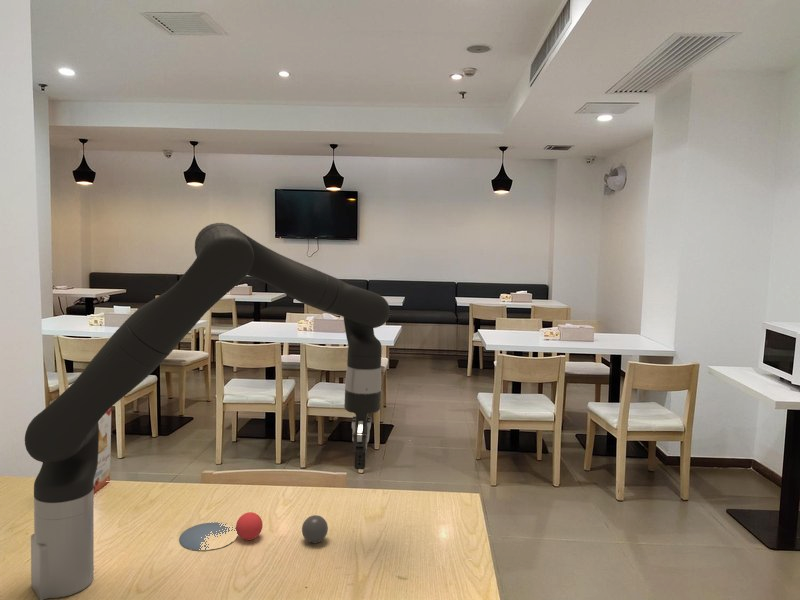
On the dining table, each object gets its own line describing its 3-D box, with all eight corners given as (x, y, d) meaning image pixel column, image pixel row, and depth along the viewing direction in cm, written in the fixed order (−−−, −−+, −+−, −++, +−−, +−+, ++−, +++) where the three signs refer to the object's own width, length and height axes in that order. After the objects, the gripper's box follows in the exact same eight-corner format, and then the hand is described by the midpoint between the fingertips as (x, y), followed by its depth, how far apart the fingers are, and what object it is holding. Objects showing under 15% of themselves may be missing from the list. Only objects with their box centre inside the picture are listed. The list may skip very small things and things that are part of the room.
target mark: (195, 557, 116) (195, 556, 116) (169, 534, 124) (169, 533, 124) (248, 538, 125) (248, 537, 125) (221, 518, 133) (221, 517, 133)
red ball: (244, 547, 121) (244, 522, 120) (230, 537, 125) (231, 512, 124) (267, 539, 125) (267, 514, 124) (253, 529, 128) (254, 505, 128)
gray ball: (311, 550, 121) (312, 525, 120) (296, 540, 125) (297, 515, 124) (332, 542, 125) (333, 517, 124) (317, 532, 129) (317, 508, 128)
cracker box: (81, 506, 136) (81, 418, 134) (55, 504, 136) (55, 416, 134) (112, 481, 150) (112, 402, 148) (89, 480, 150) (89, 400, 148)
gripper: (380, 396, 115) (376, 481, 117) (382, 381, 128) (378, 457, 130) (342, 394, 115) (338, 479, 117) (347, 379, 128) (344, 456, 130)
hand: (359, 467), depth 123 cm, fingers closed
